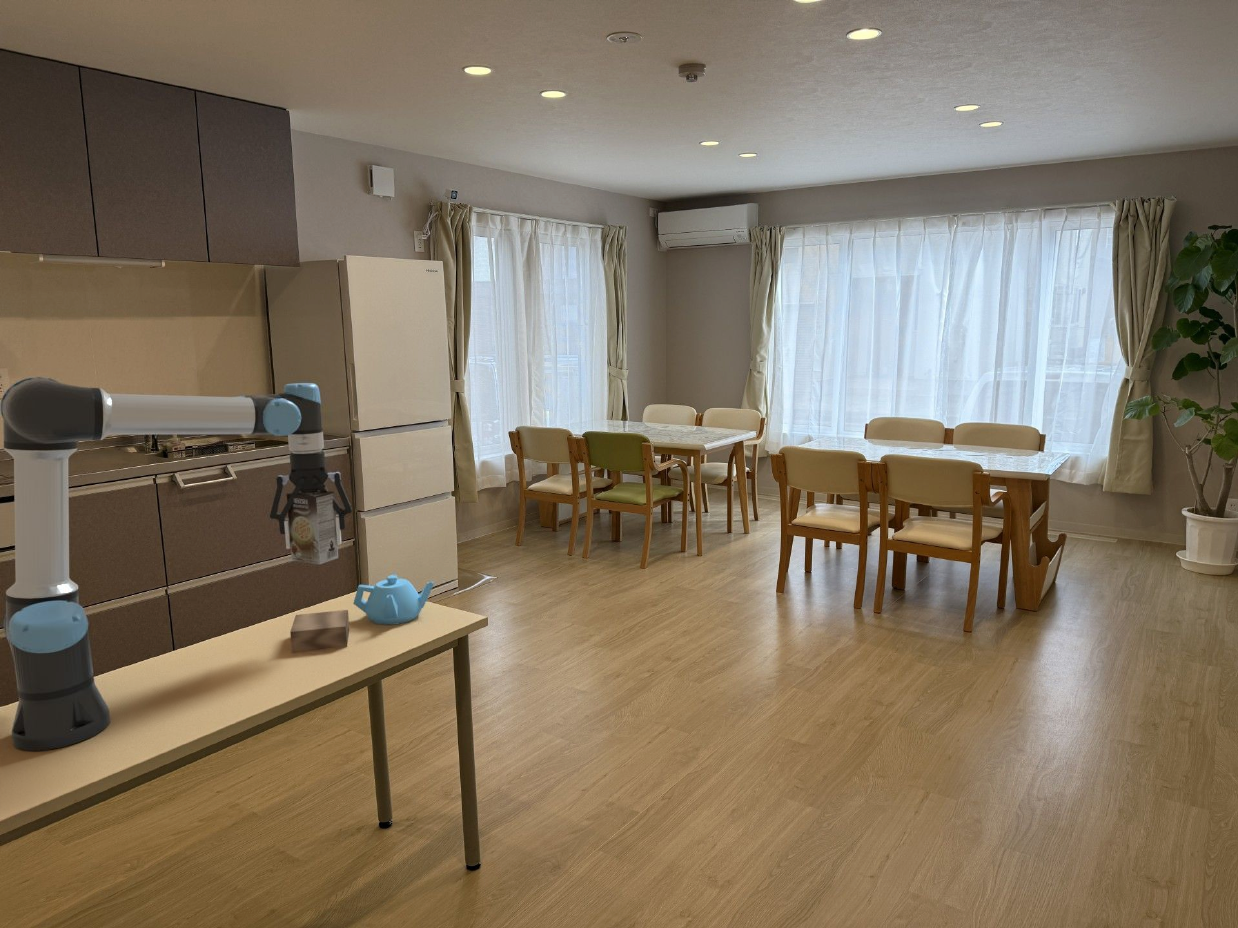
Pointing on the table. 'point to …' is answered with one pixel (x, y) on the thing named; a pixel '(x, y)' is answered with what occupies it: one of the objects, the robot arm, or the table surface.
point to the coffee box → (313, 527)
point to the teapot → (392, 600)
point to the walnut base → (320, 631)
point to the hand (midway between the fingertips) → (314, 545)
